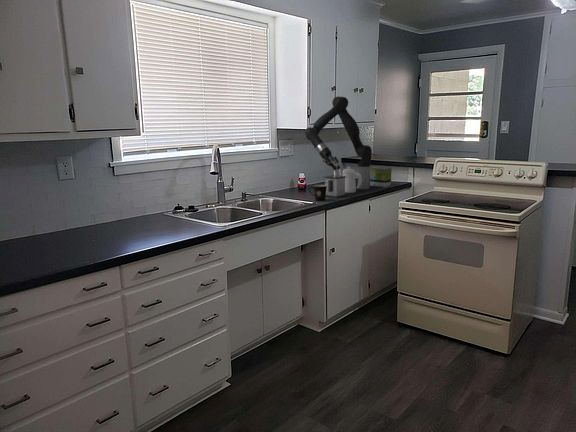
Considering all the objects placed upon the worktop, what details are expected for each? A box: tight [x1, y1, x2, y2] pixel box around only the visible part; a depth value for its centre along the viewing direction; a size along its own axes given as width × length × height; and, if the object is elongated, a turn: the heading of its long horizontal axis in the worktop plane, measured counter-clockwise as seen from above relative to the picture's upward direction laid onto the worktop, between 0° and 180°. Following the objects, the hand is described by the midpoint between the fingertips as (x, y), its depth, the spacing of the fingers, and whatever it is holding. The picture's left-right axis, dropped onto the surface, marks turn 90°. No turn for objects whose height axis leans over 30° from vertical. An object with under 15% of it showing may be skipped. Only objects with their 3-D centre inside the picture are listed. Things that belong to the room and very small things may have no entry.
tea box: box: [370, 166, 393, 188], centre depth 351 cm, size 15×10×15 cm
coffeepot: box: [338, 166, 362, 194], centre depth 324 cm, size 11×25×19 cm, turn 42°
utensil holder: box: [323, 174, 346, 199], centre depth 307 cm, size 12×11×14 cm
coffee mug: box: [308, 184, 327, 202], centre depth 294 cm, size 12×9×10 cm
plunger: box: [333, 163, 339, 177], centre depth 306 cm, size 8×8×20 cm
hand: (337, 168), depth 303 cm, fingers closed on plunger, 3 cm apart
